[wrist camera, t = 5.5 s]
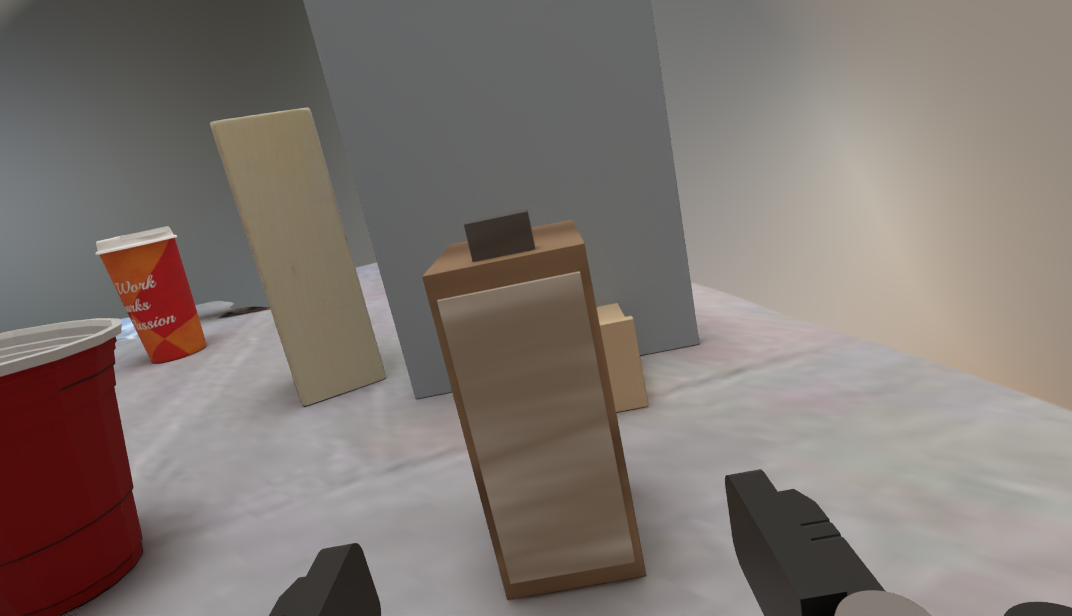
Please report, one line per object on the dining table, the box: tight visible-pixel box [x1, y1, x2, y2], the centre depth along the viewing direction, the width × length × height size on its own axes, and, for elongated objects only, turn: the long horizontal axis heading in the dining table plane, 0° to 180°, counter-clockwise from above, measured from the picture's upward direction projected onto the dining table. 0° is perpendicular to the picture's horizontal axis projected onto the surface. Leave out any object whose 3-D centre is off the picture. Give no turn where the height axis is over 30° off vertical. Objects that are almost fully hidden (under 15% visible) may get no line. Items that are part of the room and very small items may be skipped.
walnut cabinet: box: [422, 209, 646, 600], centre depth 22 cm, size 6×5×13 cm
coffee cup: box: [96, 226, 206, 363], centre depth 69 cm, size 8×8×15 cm
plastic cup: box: [0, 318, 143, 616], centre depth 26 cm, size 11×11×12 cm
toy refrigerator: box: [210, 108, 385, 406], centre depth 46 cm, size 8×7×21 cm
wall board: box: [303, 0, 699, 412], centre depth 37 cm, size 15×20×26 cm
